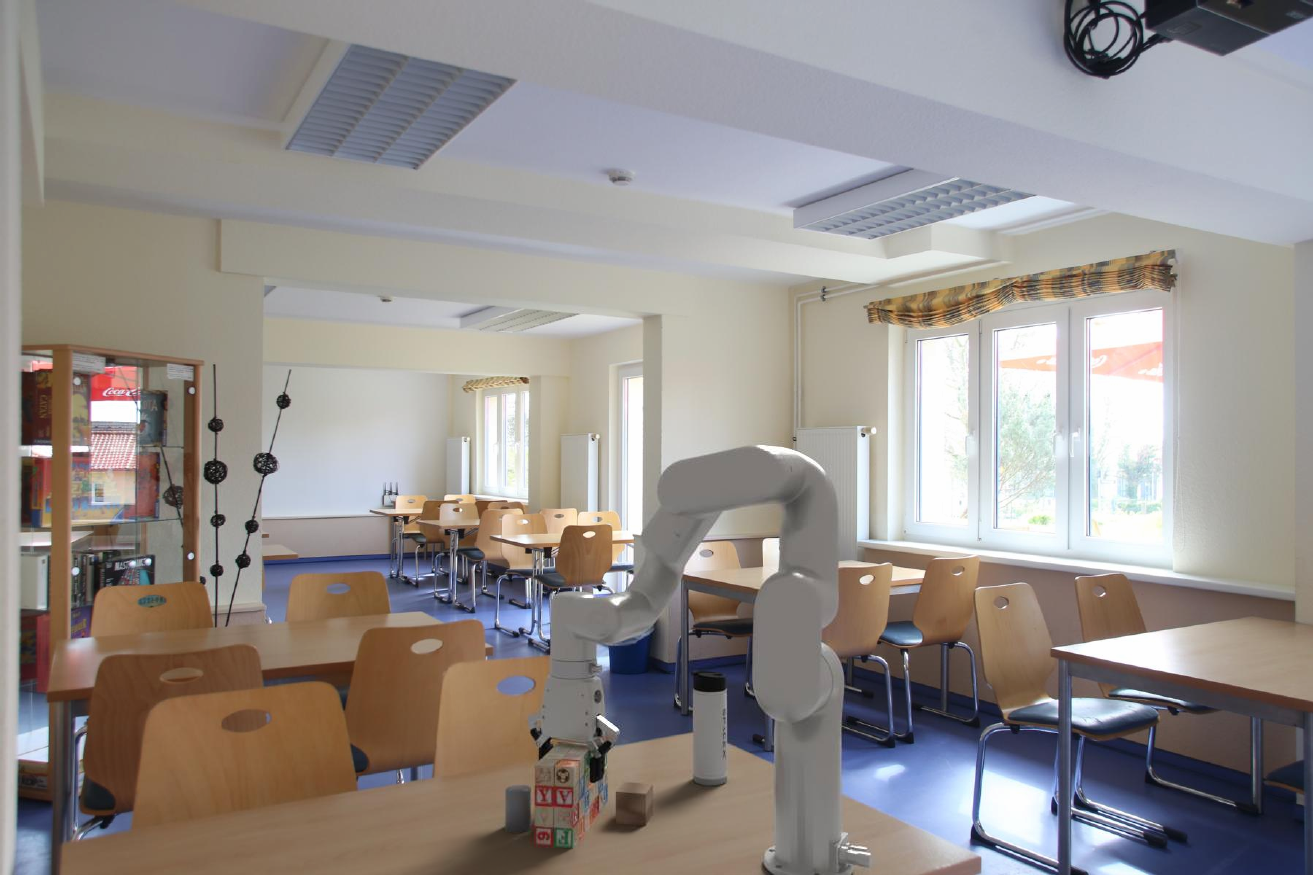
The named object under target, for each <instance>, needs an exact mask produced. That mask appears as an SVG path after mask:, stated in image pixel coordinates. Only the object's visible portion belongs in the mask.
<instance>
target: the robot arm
mask: <svg viewBox="0 0 1313 875" xmlns="http://www.w3.org/2000/svg"><path fill="white" fill-rule="evenodd" d="M656 493H657V494H656V495H657V498H658V502H659V504H660V505H659V507H658V508H657V510H656V512H655V513H654V515H652V517H651V518H650V520H649V521H648V522H647V524H646V525H645V526H644V528H643V530H642V531H641V533H640V542H641V545H642V546H643V549H644V550H645V556H644V560H643V562H642V564H641V567H640V568H639V570H638V572H637V573H636V575H635V576H634V578H633V579H632V581H631V582H630V583H629V585H628V586H627V588H626V589H625V590H624V591H620V592H616V593H612V594H607V595H603V596H596V595H594V594H593V593H591V592H587V591H576V590H575V591H574V590H571V591H561V592H557V593H556V594H554V595H553V597H552V599H551V611H550V613H551V614H550V649H549V650H550V651H549V653H550V655H549V675H547V676H546V679H545V683H544V686H543V688H544V689H543V695H542V700H541V702H542V703H541V710H538V711H537V712H534V713H533V714H530V715H528V716H527V717H526V718H525V719H526V723H527V726H528V729H529V733H530V735H531V737H532V739H533V740H534V741H535V747H537V748H538V761H539V760H540V759H542V758H543V757H544V756H545V755H546V754H547V753H549V751H550V750H551V749H552V748H553V747H554V746H555V745H554V743H552V741H553V740H559V741H562V742H568V743H581V744H587V746H588V748H589V749H590V751H591V753H592V754H593V757H591V758H590V782H591V783H596V782H597V781H599V780H601V779H602V778H603V775H604V773H605V754H607V755H608V753H609V751H611V750H612V748H614V747H615V745H616V742H617V740H618V738H619V736H620V734H621V730H620V729H619V728H618V727H616V726H615V725H614V724H613V723H611V722H610V721H608V720H607V719H606V705H605V694H604V689H603V684H602V679H601V677H599V676H597V674H602V672H603V665H602V664H598V659H597V653H598V652H597V648H598V647H597V646H598V645H597V644H600V645H614V644H617V643H620V642H623V641H626V640H628V639H632V638H635V637H639V636H641V635H643V634H644V633H646V632H647V631H648V630H650V629H651V628H652V626H653V625H654V624H655V623H656V622H657V620H658V619H659V617H660V616H661V615H662V614H663V612H664V611H665V610H666V608H667V607H668V605H669V604H670V602H671V601H672V599H673V598H674V596H675V594H676V592H677V591H678V589H679V586H680V583H681V582H682V581H681V580H682V578H683V576H684V572H685V568H686V566H687V563H688V562H689V560H690V559H691V557H692V556H693V554H694V553H695V552H696V551H697V549H698V547H699V545H701V543H702V542H703V540H704V539H705V537H706V536H707V535H708V533H709V532H710V531H711V529H712V528H713V526H714V525H715V524H716V522H717V521H718V520H719V518H720V517H721V516H722V514H723V512H726V511H732V510H736V509H742V508H747V507H754V506H765V505H767V506H768V505H778V506H779V507H780V509H781V513H782V519H781V523H780V524H781V525H780V527H779V528H780V529H779V537H778V538H779V539H778V544H779V545H778V547H779V553H778V559H779V560H778V569H777V572H775V573H773V574H772V575H770V576H768V577H767V579H765V580H764V581H763V583H762V584H761V586H760V588H759V589H758V591H757V595H756V598H755V601H754V605H753V606H754V607H753V621H752V622H753V625H752V626H753V627H752V633H753V634H752V668H751V670H752V671H751V672H752V678H751V680H752V687H753V692H754V696H755V699H756V701H757V703H758V705H759V707H760V708H761V710H762V711H763V712H764V713H765V714H766V715H768V717H770V718H771V719H773V720H774V729H773V767H774V768H773V774H774V776H773V779H774V780H773V782H774V783H773V785H774V786H773V788H774V790H773V793H774V845H773V846H771V847H769V848H767V849H766V850H765V852H764V855H763V864H764V867H765V868H766V869H767V870H768V871H769V872H770V873H771V874H772V875H852V874H853V873H854V869H855V866H857V867H860V868H864V869H872V866H873V861H874V859H873V854H872V853H870V852H869V848H868V847H867V846H861V845H857V846H856V845H853V844H852V843H851V842H849V833H848V832H844V831H843V803H842V802H843V799H842V798H843V797H842V796H843V794H842V793H843V792H842V791H843V790H842V787H843V785H842V724H843V723H842V722H843V720H842V717H843V707H844V694H845V675H844V669H843V666H842V665H843V664H842V662H841V661H840V658H839V657H838V654H836V652H835V650H833V648H832V647H830V646H829V645H828V644H826V643H824V642H822V641H823V640H822V638H823V629H825V628H826V627H827V626H829V625H830V624H831V623H832V622H833V621H834V619H835V618H836V616H837V614H838V611H839V605H840V596H839V595H840V593H839V590H840V588H839V586H840V585H839V570H840V568H839V564H840V563H839V562H840V561H839V560H840V559H839V557H840V556H839V554H840V553H839V550H840V549H839V517H840V516H839V503H838V496H837V492H836V489H835V486H834V483H833V481H832V480H831V478H830V476H829V475H828V473H827V472H826V471H825V470H824V468H823V467H822V466H821V465H820V464H819V463H817V462H816V461H815V460H814V459H812V458H811V457H808V456H807V455H805V454H803V453H801V452H799V451H796V450H794V449H791V448H789V447H783V446H774V445H773V446H771V445H764V444H749V445H743V446H739V447H735V448H730V449H726V450H722V451H716V452H713V453H708V454H705V455H704V454H703V455H700V456H693V457H689V458H685V459H679V460H677V461H675V462H673V463H671V464H670V465H669V466H667V467H666V469H664V470H663V472H662V473H661V475H660V477H659V479H658V482H657V485H656ZM539 721H540V724H539ZM605 735H607V736H606V739H605V741H604V740H603V738H604V737H605ZM538 761H537V762H538Z"/></svg>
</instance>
